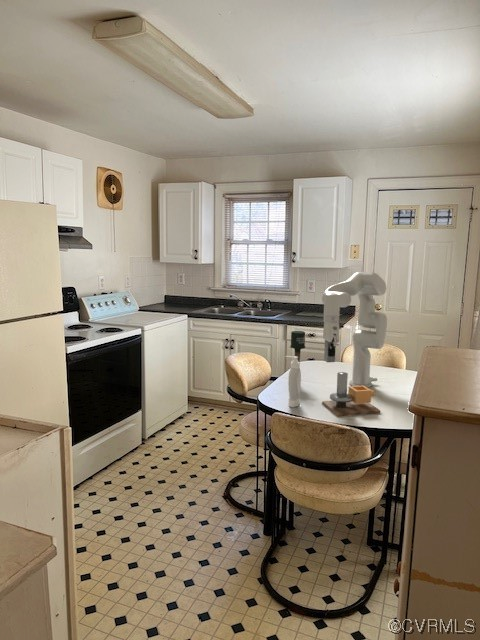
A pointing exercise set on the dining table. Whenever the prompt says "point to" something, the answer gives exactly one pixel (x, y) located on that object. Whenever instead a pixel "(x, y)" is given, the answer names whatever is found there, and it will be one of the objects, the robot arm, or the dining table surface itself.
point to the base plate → (351, 408)
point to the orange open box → (361, 394)
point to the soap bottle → (294, 382)
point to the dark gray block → (326, 353)
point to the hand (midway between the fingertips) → (329, 354)
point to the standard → (341, 391)
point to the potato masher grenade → (298, 342)
